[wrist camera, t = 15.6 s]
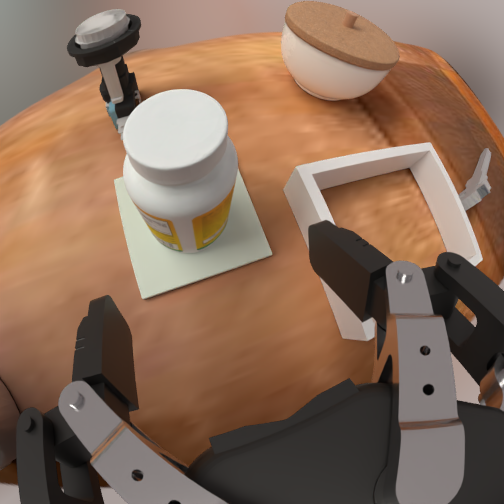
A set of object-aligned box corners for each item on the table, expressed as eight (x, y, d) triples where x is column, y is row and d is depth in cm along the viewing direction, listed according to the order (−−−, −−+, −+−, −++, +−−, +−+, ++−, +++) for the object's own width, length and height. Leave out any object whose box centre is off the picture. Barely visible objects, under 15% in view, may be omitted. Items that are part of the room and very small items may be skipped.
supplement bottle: (150, 258, 17) (94, 196, 8) (150, 184, 18) (115, 87, 9) (232, 251, 18) (254, 181, 9) (225, 178, 19) (239, 75, 10)
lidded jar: (298, 123, 22) (335, 41, 13) (255, 54, 24) (270, -16, 15) (383, 115, 24) (429, 58, 15) (336, 53, 26) (362, -3, 17)
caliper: (443, 222, 22) (487, 200, 16) (438, 213, 23) (481, 189, 17) (487, 155, 27) (513, 136, 21) (483, 149, 28) (508, 130, 22)
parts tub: (457, 267, 21) (482, 259, 18) (342, 338, 18) (367, 341, 15) (410, 159, 23) (430, 142, 20) (282, 189, 20) (295, 166, 17)
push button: (157, 135, 20) (136, 35, 10) (97, 151, 19) (50, 65, 9) (153, 85, 21) (140, -2, 12) (100, 99, 20) (72, 19, 11)
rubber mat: (270, 255, 19) (272, 254, 18) (144, 299, 17) (142, 299, 17) (227, 148, 20) (228, 144, 20) (115, 183, 19) (114, 179, 18)
